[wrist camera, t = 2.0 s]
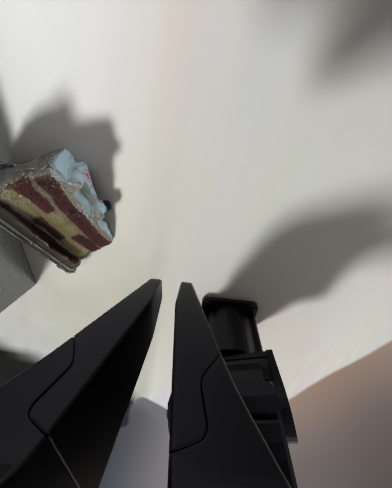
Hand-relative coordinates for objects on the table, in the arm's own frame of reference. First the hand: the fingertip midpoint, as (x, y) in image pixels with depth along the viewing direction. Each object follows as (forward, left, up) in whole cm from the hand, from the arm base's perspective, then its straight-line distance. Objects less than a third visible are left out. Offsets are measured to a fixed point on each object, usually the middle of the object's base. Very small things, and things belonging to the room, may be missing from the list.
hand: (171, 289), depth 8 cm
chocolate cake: (+12, +1, -12) cm, 17 cm away
